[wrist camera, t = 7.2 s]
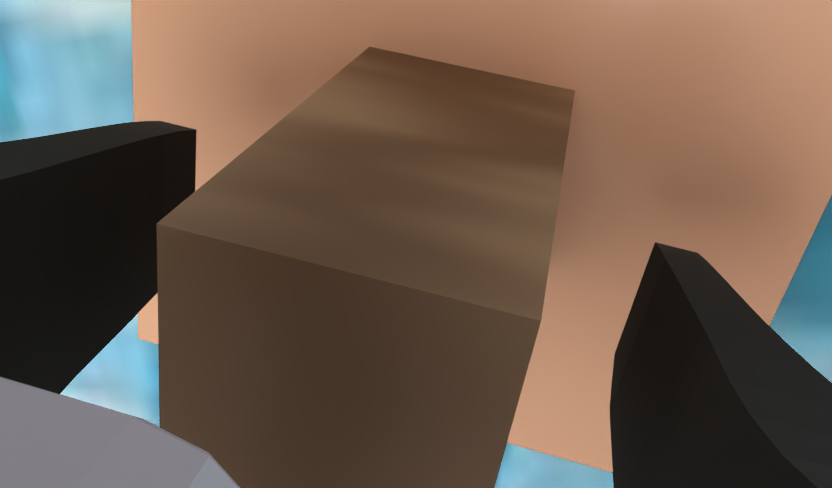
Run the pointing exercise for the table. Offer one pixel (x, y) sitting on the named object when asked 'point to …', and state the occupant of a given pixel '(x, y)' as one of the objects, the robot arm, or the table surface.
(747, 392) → the robot arm
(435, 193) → the link block
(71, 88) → the table surface
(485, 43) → the terracotta tile
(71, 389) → the table surface
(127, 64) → the table surface
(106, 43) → the table surface
